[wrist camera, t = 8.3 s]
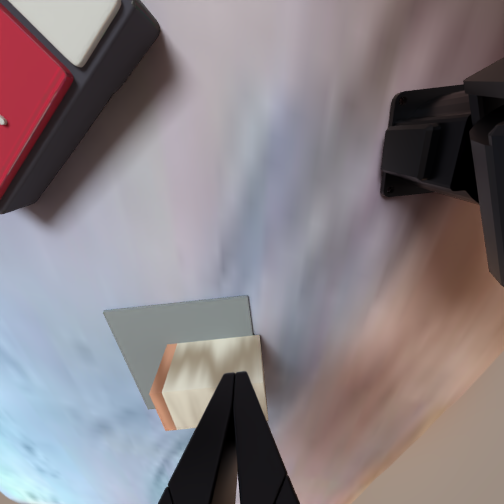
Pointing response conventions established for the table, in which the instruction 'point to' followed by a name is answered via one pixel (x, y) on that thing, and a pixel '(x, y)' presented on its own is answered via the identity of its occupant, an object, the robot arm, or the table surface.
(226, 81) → the table surface
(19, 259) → the table surface
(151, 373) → the mat
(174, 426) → the block
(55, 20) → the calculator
